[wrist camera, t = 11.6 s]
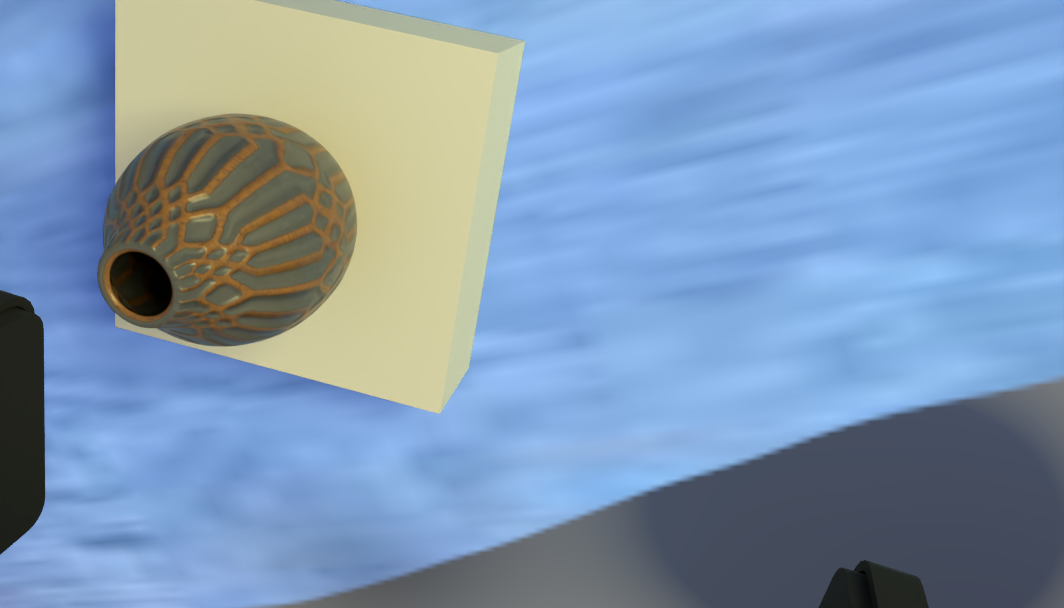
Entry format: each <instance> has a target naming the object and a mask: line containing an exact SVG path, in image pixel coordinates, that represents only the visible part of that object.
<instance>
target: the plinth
mask: <svg viewBox="0 0 1064 608" xmlns="http://www.w3.org/2000/svg"><path fill="white" fill-rule="evenodd" d="M524 45H525V41H522V40H517V39H513V38H508V37H503V36H499V35H494V34H489V33H485V32H480V31H476V30H471V29H466V28H462V27H457V26H452V25H448V24H443V23H438V22H434V21H429V20H424V19H420V18H415V17H411V16H406V15H401V14H397V13H392V12H387V11H383V10H378V9H373V8H369V7H364V6H359V5H355V4H350V3H346V2H341V1H336V0H115V185H116V183H117V181H118V179H119V178H120V176H121V175H122V173H123V172H124V170H125V169H126V168H127V166H128V165H129V164H130V163H131V162H132V160H133V159H134V158H135V157H136V156H137V155H138V154H139V153H140V152H141V151H142V150H143V149H144V148H146V147H147V146H148V145H149V144H150V143H151V142H153V141H154V140H156V139H157V138H158V137H160V136H162V135H163V134H165V133H166V132H168V131H170V130H172V129H174V128H176V127H178V126H181V125H183V124H186V123H188V122H192V121H195V120H198V119H202V118H206V117H211V116H216V115H223V114H251V115H259V116H265V117H269V118H272V119H276V120H279V121H282V122H285V123H287V124H290V125H292V126H294V127H296V128H298V129H300V130H301V131H303V132H305V133H306V134H308V135H309V136H311V137H312V138H314V139H315V140H316V141H317V142H319V143H320V144H321V145H322V146H323V147H324V148H325V149H326V150H327V151H328V152H329V153H330V154H331V155H332V156H333V158H334V159H335V160H336V161H337V163H338V164H339V166H340V167H341V169H342V170H343V172H344V174H345V176H346V178H347V180H348V182H349V185H350V187H351V190H352V193H353V197H354V201H355V206H356V214H357V235H356V242H355V247H354V251H353V255H352V258H351V261H350V264H349V266H348V268H347V270H346V273H345V275H344V277H343V279H342V280H341V282H340V284H339V285H338V287H337V288H336V290H335V291H334V292H333V293H332V294H331V296H330V297H329V298H328V299H327V300H326V302H325V303H324V304H323V305H322V306H320V307H319V308H318V309H317V310H316V311H315V312H314V313H313V314H312V315H311V316H309V317H308V318H307V319H306V320H304V321H303V322H302V323H300V324H299V325H297V326H296V327H294V328H292V329H290V330H288V331H286V332H284V333H282V334H280V335H277V336H275V337H272V338H269V339H266V340H263V341H259V342H255V343H250V344H246V345H238V346H227V347H221V346H205V345H199V344H195V343H191V342H187V341H184V340H181V339H178V338H176V337H173V336H171V335H169V334H167V333H164V332H162V331H161V330H159V329H157V328H144V327H139V326H136V325H133V324H131V323H129V322H127V321H125V320H124V319H122V318H121V317H119V316H118V315H117V314H116V313H115V327H118V328H122V329H126V330H129V331H133V332H137V333H141V334H144V335H148V336H152V337H155V338H159V339H163V340H167V341H170V342H174V343H178V344H182V345H185V346H189V347H193V348H196V349H200V350H204V351H208V352H211V353H215V354H219V355H223V356H226V357H230V358H234V359H237V360H241V361H245V362H249V363H252V364H256V365H260V366H264V367H267V368H271V369H275V370H278V371H282V372H286V373H290V374H293V375H297V376H301V377H305V378H308V379H312V380H316V381H319V382H323V383H327V384H331V385H334V386H338V387H342V388H346V389H349V390H353V391H357V392H360V393H364V394H368V395H372V396H375V397H379V398H383V399H387V400H390V401H394V402H398V403H401V404H405V405H409V406H413V407H416V408H420V409H424V410H427V411H431V412H435V413H439V414H440V413H441V411H442V410H443V408H444V406H445V405H446V403H447V402H448V400H449V398H450V397H451V395H452V394H453V392H454V391H455V389H456V387H457V386H458V384H459V383H460V381H461V379H462V378H463V376H464V375H465V373H466V371H467V370H468V368H469V364H470V358H471V352H472V347H473V341H474V335H475V329H476V323H477V318H478V312H479V306H480V300H481V294H482V289H483V283H484V277H485V271H486V265H487V260H488V254H489V248H490V242H491V236H492V231H493V225H494V219H495V213H496V207H497V202H498V196H499V190H500V184H501V178H502V173H503V167H504V161H505V155H506V149H507V144H508V138H509V132H510V126H511V120H512V115H513V109H514V103H515V97H516V91H517V86H518V80H519V74H520V68H521V63H522V57H523V51H524Z"/></svg>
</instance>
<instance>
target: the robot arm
mask: <svg viewBox="0 0 1064 608" xmlns="http://www.w3.org/2000/svg"><path fill="white" fill-rule="evenodd" d="M44 502H45V430H44V328H43V322H42V320H41V318H40V317H39V316H37V315H36V314H35V313H34V308H33V306H32V304H31V302H30V301H28V300H27V299H26V298H24V297H21V296H17V295H14V294H11V293H8V292H5V291H1V290H0V554H2V553H3V552H4V551H5V550H6V549H7V548H9V547H10V546H11V545H12V544H13V543H14V542H16V541H17V540H18V539H19V538H20V537H21V536H23V535H24V534H25V533H26V532H27V531H28V530H29V529H30V528H31V527H32V526H33V525H34V524H35V522H36V521H37V520H38V518H39V516H40V514H41V512H42V509H43V506H44ZM819 608H929V607H928V604H927V600H926V596H925V593H924V589H923V585H922V583H921V581H920V579H919V578H918V577H916V576H914V575H911V574H907V573H904V572H901V571H898V570H894V569H892V568H888V567H885V566H882V565H879V564H876V563H872V562H869V561H866V560H864V561H861V562H860V563H859V564H858V565H857V566H856V568H855V569H854V571H851V570H849V569H845V568H839V569H838V570H837V571H836V573H835V575H834V576H833V578H832V581H831V582H830V585H829V587H828V589H827V591H826V593H825V595H824V597H823V600H822V602H821V604H820V606H819Z"/></svg>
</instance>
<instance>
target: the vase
mask: <svg viewBox="0 0 1064 608" xmlns="http://www.w3.org/2000/svg"><path fill="white" fill-rule="evenodd" d="M356 235H357V214H356V206H355V201H354V197H353V193H352V190H351V187H350V185H349V182H348V180H347V178H346V176H345V174H344V172H343V170H342V169H341V167H340V166H339V164H338V163H337V161H336V160H335V159H334V158H333V156H332V155H331V154H330V153H329V152H328V151H327V150H326V149H325V148H324V147H323V146H322V145H321V144H320V143H319V142H317V141H316V140H315V139H314V138H312V137H311V136H309V135H308V134H306V133H305V132H303V131H301V130H300V129H298V128H296V127H294V126H292V125H290V124H287V123H285V122H282V121H279V120H276V119H272V118H269V117H265V116H259V115H251V114H223V115H216V116H211V117H206V118H202V119H198V120H195V121H192V122H188V123H186V124H183V125H181V126H178V127H176V128H174V129H172V130H170V131H168V132H166V133H165V134H163V135H162V136H160V137H158V138H157V139H156V140H154V141H153V142H151V143H150V144H149V145H148V146H147V147H146V148H144V149H143V150H142V151H141V152H140V153H139V154H138V155H137V156H136V157H135V158H134V159H133V160H132V162H131V163H130V164H129V165H128V166H127V168H126V169H125V170H124V172H123V173H122V175H121V176H120V178H119V179H118V181H117V183H116V185H115V187H114V189H113V191H112V193H111V195H110V198H109V201H108V204H107V208H106V212H105V217H104V224H103V245H104V252H103V254H102V256H101V259H100V261H99V265H98V272H97V276H98V284H99V288H100V291H101V293H102V295H103V297H104V299H105V301H106V303H107V304H108V305H109V307H110V308H111V309H112V310H113V311H114V312H115V313H116V314H117V315H118V316H119V317H121V318H122V319H124V320H125V321H127V322H129V323H131V324H133V325H136V326H139V327H144V328H157V329H159V330H161V331H162V332H164V333H167V334H169V335H171V336H173V337H176V338H178V339H181V340H184V341H187V342H191V343H195V344H199V345H205V346H221V347H227V346H238V345H246V344H250V343H255V342H259V341H263V340H266V339H269V338H272V337H275V336H277V335H280V334H282V333H284V332H286V331H288V330H290V329H292V328H294V327H296V326H297V325H299V324H300V323H302V322H303V321H304V320H306V319H307V318H308V317H309V316H311V315H312V314H313V313H314V312H315V311H316V310H317V309H318V308H319V307H320V306H322V305H323V304H324V303H325V302H326V300H327V299H328V298H329V297H330V296H331V294H332V293H333V292H334V291H335V290H336V288H337V287H338V285H339V284H340V282H341V280H342V279H343V277H344V275H345V273H346V270H347V268H348V266H349V264H350V261H351V258H352V255H353V251H354V247H355V242H356Z"/></svg>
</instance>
